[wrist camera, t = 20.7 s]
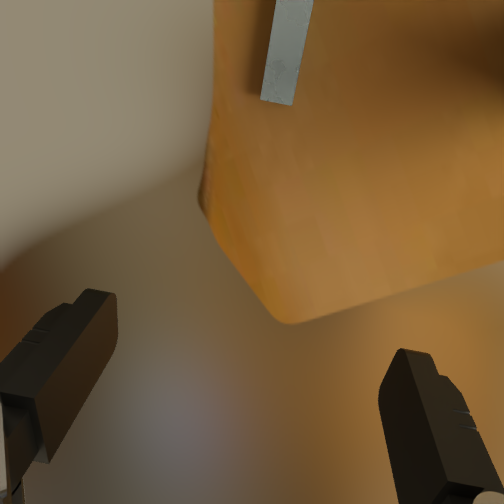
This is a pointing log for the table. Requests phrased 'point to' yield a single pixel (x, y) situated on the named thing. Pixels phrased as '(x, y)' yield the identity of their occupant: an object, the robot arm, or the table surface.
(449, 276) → the table surface
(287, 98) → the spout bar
